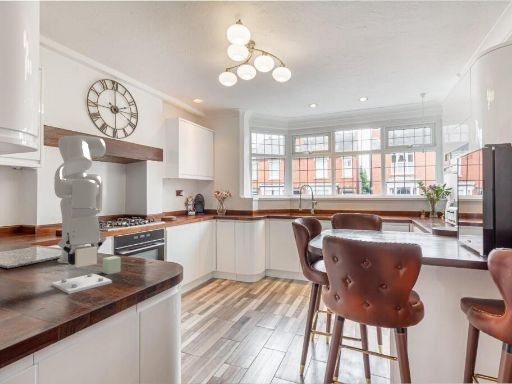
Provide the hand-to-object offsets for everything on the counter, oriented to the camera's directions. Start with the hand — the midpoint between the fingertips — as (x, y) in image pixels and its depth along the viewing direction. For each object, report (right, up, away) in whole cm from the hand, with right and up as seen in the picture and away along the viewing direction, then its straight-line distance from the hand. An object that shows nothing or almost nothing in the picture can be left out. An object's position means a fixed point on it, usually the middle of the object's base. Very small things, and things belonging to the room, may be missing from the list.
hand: (83, 262), depth 99 cm
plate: (0, -8, 0) cm, 8 cm away
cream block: (0, -1, 0) cm, 1 cm away
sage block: (+2, -8, +16) cm, 18 cm away
